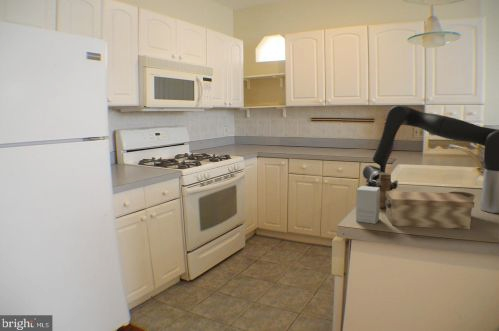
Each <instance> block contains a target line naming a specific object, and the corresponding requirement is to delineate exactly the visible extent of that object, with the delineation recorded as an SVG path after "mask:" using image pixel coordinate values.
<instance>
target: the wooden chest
mask: <svg viewBox="0 0 499 331" xmlns="http://www.w3.org/2000/svg"><path fill="white" fill-rule="evenodd" d="M386 197H387V200H385V205H386V206H387V207H385V208H386V212H385V216H387V217H386V218H387V219H388V222H389V224H390V225H391V224H392V225H391V226H393V225H396V226H397V227H413V228H414V227H417V228H418V227H419V228H433V229H434V228H435V229H438V228H439V229H453V228H459V230H471V220H472V219H471V218H472V212H473V211H472V210H473V208H475V201H474V200H473V201H472V200H470V199H468V198H467V197H465V196H463V195H462V194H458V193H448V192H425V191H423V192H422V191H397V190H396V191H395V190H394V191H393V190H390V191H386ZM396 226H395V227H396Z"/></svg>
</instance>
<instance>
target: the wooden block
mask: <svg viewBox="0 0 499 331" xmlns="http://www.w3.org/2000/svg"><path fill="white" fill-rule="evenodd" d="M391 182H392V174H391V173H390V172H385V173H379V184H380V185H381V190H380V203H379V208H386V207H387V206H386V205H385V200H387V197H386V191H391V190H390V184H391Z"/></svg>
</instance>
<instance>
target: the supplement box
mask: <svg viewBox="0 0 499 331" xmlns="http://www.w3.org/2000/svg"><path fill="white" fill-rule="evenodd" d="M379 203H380V188H379V187H368V186H366V185H361V186H359V187H358V188H357V189H356V204H355V205H356V207H355V209H356V210H355V211H356V212H355V214H356V215H355V221H356V222H357V223H365V224H374V225H375V224H377V222H378V221H379V220H378V219H380V207H379Z"/></svg>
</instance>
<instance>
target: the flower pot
mask: <svg viewBox="0 0 499 331" xmlns="http://www.w3.org/2000/svg"><path fill="white" fill-rule="evenodd" d="M447 193H458V194H462V195H463V196H465V197H467V198H468V199H470V200H472V201H473V202H474V201H475V200H474V199H475V198H476V194H474V193H471V192H467V191H466V192H465V191H458V190H457V191H448V192H447Z"/></svg>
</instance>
